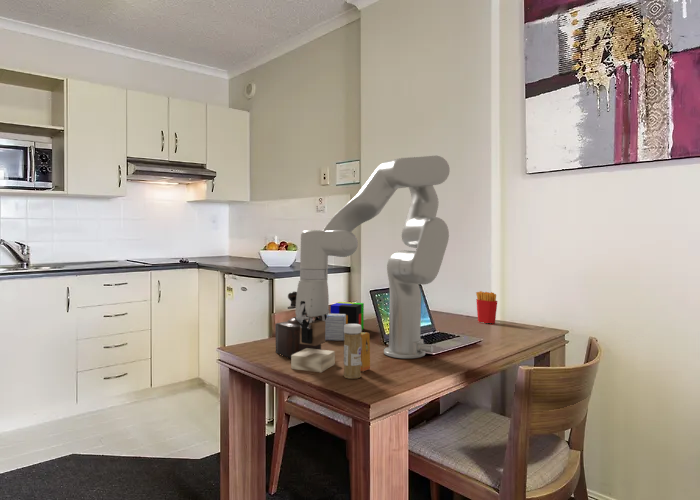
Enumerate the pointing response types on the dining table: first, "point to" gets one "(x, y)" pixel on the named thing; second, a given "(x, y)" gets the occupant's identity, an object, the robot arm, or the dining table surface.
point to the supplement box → (365, 351)
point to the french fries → (486, 307)
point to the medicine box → (335, 327)
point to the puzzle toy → (350, 312)
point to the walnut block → (316, 333)
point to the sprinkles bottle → (352, 351)
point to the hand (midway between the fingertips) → (312, 340)
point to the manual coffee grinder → (290, 334)
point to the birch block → (313, 360)
